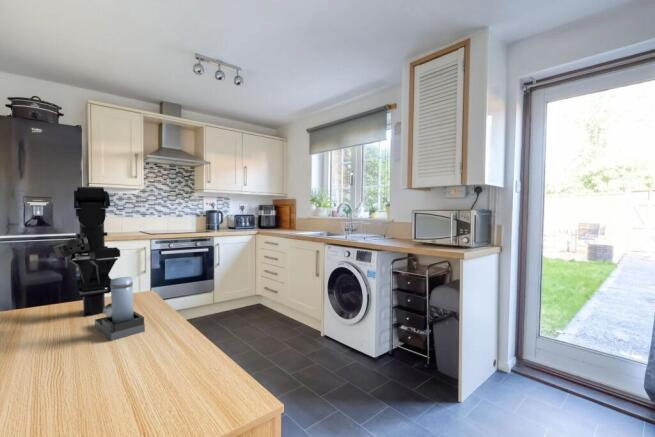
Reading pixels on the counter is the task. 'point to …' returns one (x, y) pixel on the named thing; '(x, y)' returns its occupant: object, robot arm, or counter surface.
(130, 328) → the dark grey open box
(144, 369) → the counter surface
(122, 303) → the dome-capped cylinder
